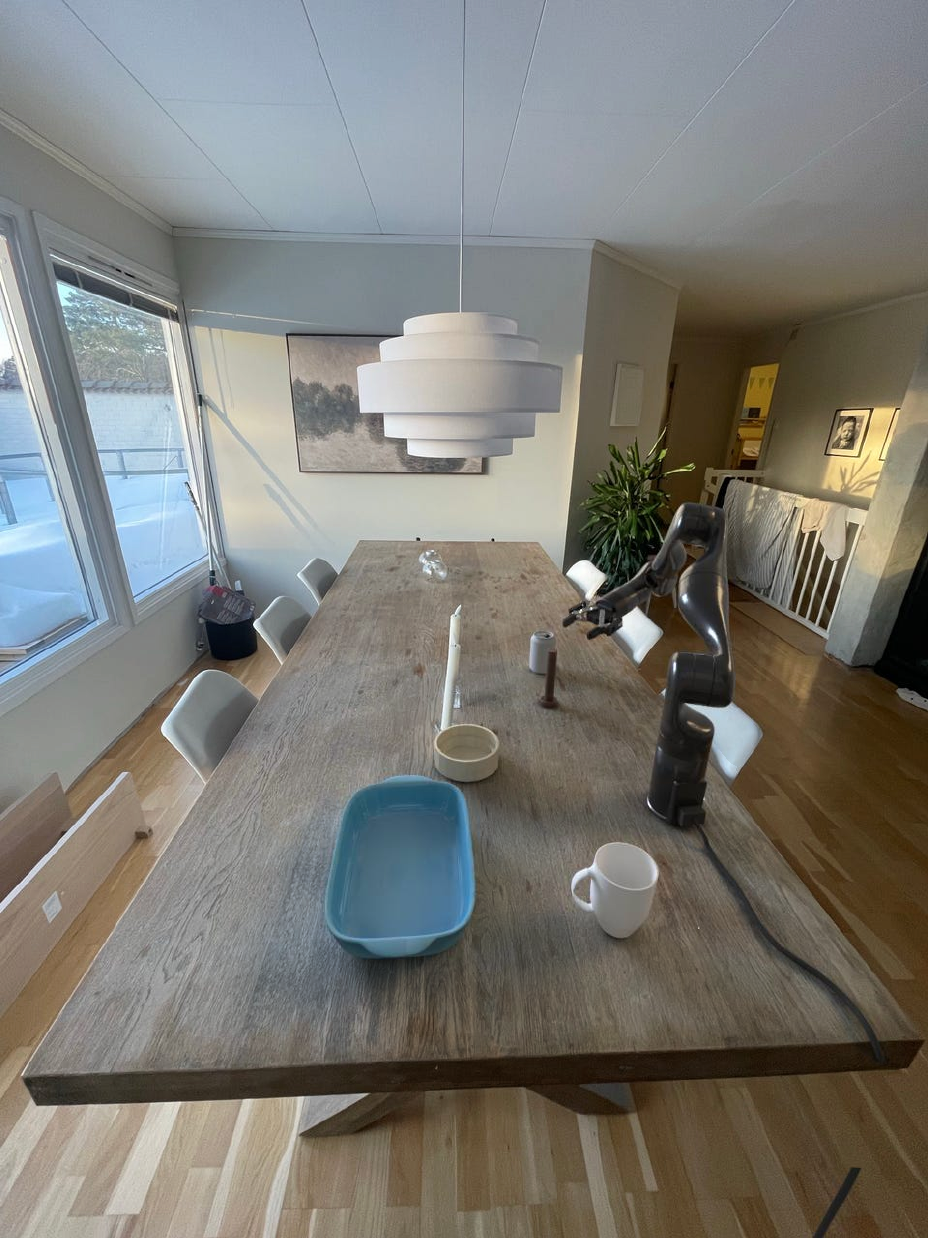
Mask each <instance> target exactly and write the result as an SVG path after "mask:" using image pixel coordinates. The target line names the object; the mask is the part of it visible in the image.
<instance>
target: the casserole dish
mask: <svg viewBox="0 0 928 1238" xmlns="http://www.w3.org/2000/svg"><path fill="white" fill-rule="evenodd" d="M470 821H471V820H470V813H469V808H468V803H467V799H466V796H465V795H464V793H463V792H462V790H461V789H460V788H459V787H458V786H456V785H454V784H452V783H450V782H446V781H440V780H434V779H431V778H429V777H426V776H424V775H417V774H407V775H396V776H391V777H389V778H386V779H385V780H383V781H381V782H377V783H373V784H368V785H366V786H364V787H362V788H360V789H358V790H357V791H355V792H354V793H353V794H352V795H351V796H350V798H349V799H348V801H347V802H346V804H345V807H344V808H343V811H342V815H341V818H340V822H339V826H338V830H337V835H336V840H335V844H334V849H333V855H332V859H331V862H330V863H331V864H330V869H329V874H328V879H327V883H326V889H325V897H324V908H323V909H324V919H325V924H326V927H327V929H328V931H329V932H330V934H331V935H332V936H333V938H335V940H336V942H337V943H338V945H339V946H340V947H341V948H342V949H343V950H344V951H345V952H346V953H347V954H349V955H350V956H353V957H356V958H360V959H398V958H399V959H400V958H416V957H417V958H418V957H425V956H431V955H436V954H439V953H442V952H445V951H447V950H449V949H450V948H452V947H453V946H454V945H455V944H456V943H457V942H458V941H459V940H460V939H461V937H462V936H463V934H464V933H465V930H466V928H467V926H468V923H469V921H470V919H471V917H472V915H473V912H474V908H475V903H476V872H475V871H476V870H475V862H474V852H473V851H474V850H473V843H472V842H473V841H472V831H471V822H470Z"/></svg>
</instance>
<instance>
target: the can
mask: <svg viewBox="0 0 928 1238" xmlns="http://www.w3.org/2000/svg"><path fill="white" fill-rule="evenodd" d="M556 644H557V639H556V637H555V634H554V633H553V632H552V631H549V630H536V631H534V632H533V633H532V635H531V637H530V646H529V662H528V668H529V669H530V670H531V671H532V672H533V673H535V674H538V675H546V670H547V656H548V649H550V648H554V649H556Z"/></svg>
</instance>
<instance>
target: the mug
mask: <svg viewBox="0 0 928 1238" xmlns="http://www.w3.org/2000/svg"><path fill="white" fill-rule="evenodd" d="M659 874H660V871H659V867H658V864H657V862H656V861H655V859H654V858H653V857H652V856H651V855H650V854H649V853H647V851H645V850H644V849H643V848H640V847H638V846H636V845H633V844H631V843H627V842H618V841H617V842H616V841H615V842H609V843H606V844H603V845H602V846H600V847H599V848H598V849H597V851H596V853H595V855H594V860H593V863H592V865H591V866H590V867H584V868H583V869H581V870H579V871H577V872H576V873H575V874H574V875H573V878H572V880H571V884H570V886H571V887H570V888H571V889H570V890H571V896H572V899H573V902H574V903H575V904H576V906H577V907H578V908H580V909H581V910H583V911H584V912H585V913H590V914H593V915H594V916H595V917H596V919H597V920H598V922H599V924H600V926H601V928H602V930H603V931H604V932H605V933H606V934H608V935H610V936H611V937H613V938H616V939H626V938H629V937H631V936H632V934H634V933H635V932H636V931H637V930H638V929H639V928H640V927H641V926H642V925H643V924H644V923H645V921H646V920H647V918H648V916H649V914H650V911H651V908H652V904H653V901H654V897H655V893H656V888H657V884H658V880H659V876H660V875H659ZM586 878H590V886H589V887H590V888H589V899H590V903H587V902H586V901H583V900H582V899H581V898H580V897H578V896H577V895H576V894H575V892H574V890H575V887H576V885H578V883H579V882H581V881H583V880H585V879H586Z"/></svg>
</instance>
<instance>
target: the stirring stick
mask: <svg viewBox="0 0 928 1238" xmlns="http://www.w3.org/2000/svg"><path fill="white" fill-rule="evenodd" d="M557 659H558V649H557V648H555V649H554V648H550V649H548V656H547V670H546V674H545V685H544V695H542V696H541V697H540V700H539V701H540V706H541V707H543V708H546V709H554V708H556V707H557V706H558V698H557V697H556V696H555V686H556V672H557V662H558V661H557Z"/></svg>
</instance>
